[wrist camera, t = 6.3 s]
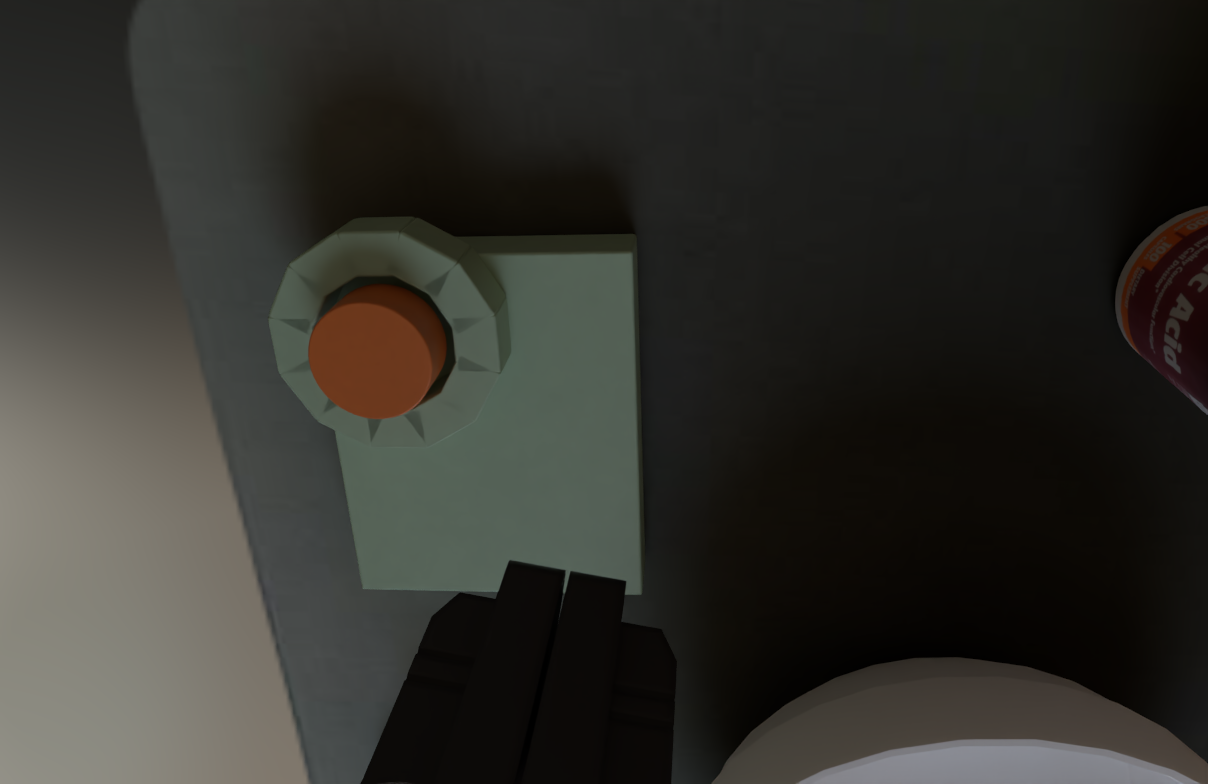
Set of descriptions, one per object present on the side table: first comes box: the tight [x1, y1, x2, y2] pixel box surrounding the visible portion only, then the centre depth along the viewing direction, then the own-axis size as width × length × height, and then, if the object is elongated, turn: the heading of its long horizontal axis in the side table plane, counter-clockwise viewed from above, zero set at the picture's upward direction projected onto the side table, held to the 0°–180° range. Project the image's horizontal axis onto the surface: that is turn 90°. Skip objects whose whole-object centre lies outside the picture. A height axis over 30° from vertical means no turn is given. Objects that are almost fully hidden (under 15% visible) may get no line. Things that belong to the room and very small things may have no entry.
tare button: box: [308, 284, 447, 419], centre depth 24 cm, size 3×3×2 cm
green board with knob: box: [268, 217, 645, 595], centre depth 27 cm, size 12×10×4 cm
